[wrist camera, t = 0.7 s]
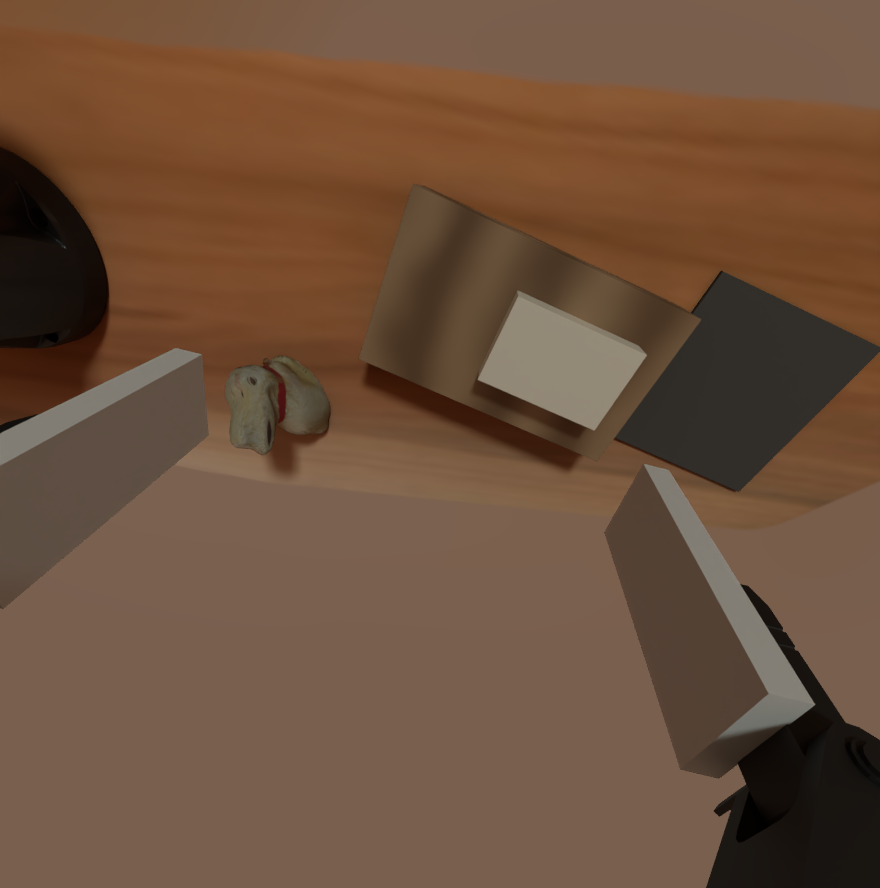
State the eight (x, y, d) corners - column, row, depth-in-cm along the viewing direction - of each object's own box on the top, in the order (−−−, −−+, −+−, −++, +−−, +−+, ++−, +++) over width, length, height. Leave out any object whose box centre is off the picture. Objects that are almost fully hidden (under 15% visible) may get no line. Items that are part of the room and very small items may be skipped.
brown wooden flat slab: (373, 343, 35) (358, 358, 32) (424, 185, 29) (413, 184, 26) (588, 436, 37) (597, 461, 33) (679, 306, 31) (701, 319, 27)
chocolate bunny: (320, 348, 36) (262, 394, 28) (335, 429, 40) (288, 493, 31) (260, 347, 37) (185, 392, 28) (279, 428, 41) (219, 489, 32)
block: (479, 369, 31) (477, 379, 29) (517, 290, 28) (518, 296, 26) (589, 418, 32) (594, 430, 30) (638, 345, 29) (647, 355, 27)
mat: (605, 432, 36) (606, 433, 36) (721, 270, 29) (722, 271, 29) (737, 489, 37) (738, 491, 37) (879, 347, 30) (882, 348, 30)
